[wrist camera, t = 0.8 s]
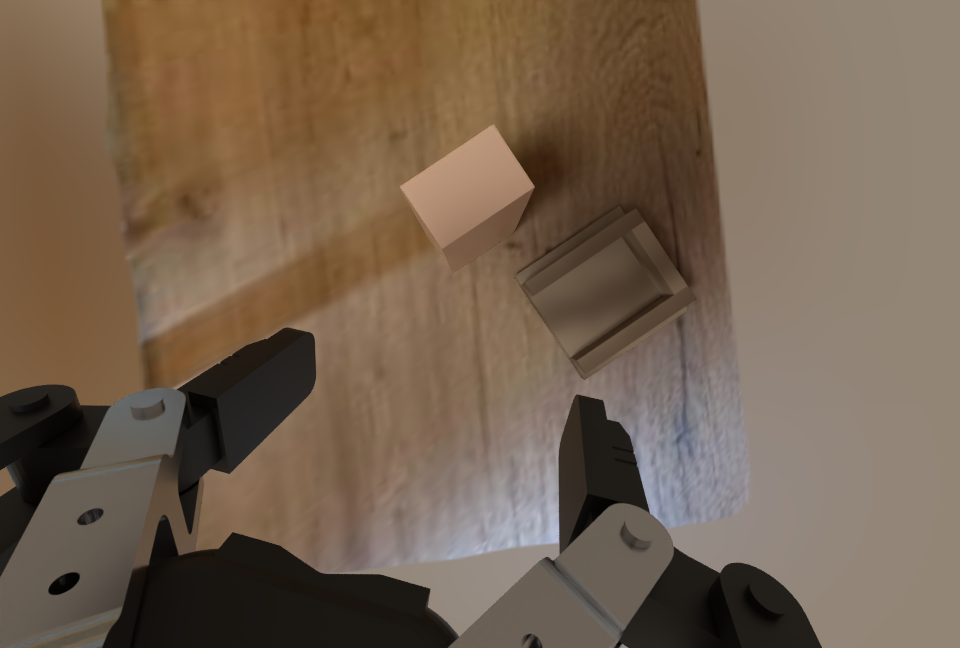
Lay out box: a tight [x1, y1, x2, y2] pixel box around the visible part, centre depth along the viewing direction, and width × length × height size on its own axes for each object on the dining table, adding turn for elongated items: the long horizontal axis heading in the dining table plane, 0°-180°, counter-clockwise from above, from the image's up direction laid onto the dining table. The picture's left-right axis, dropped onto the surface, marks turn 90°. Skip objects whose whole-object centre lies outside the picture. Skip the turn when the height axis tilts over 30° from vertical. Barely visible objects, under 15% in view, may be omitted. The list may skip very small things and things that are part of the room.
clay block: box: [400, 125, 535, 273], centre depth 26 cm, size 4×6×11 cm, turn 124°
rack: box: [514, 206, 696, 380], centre depth 30 cm, size 10×10×3 cm
